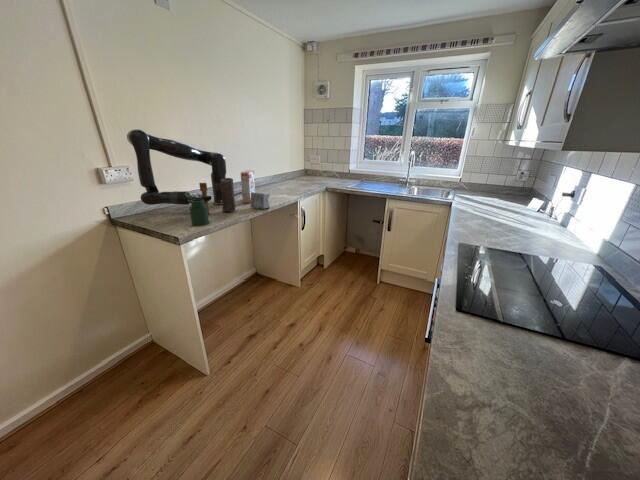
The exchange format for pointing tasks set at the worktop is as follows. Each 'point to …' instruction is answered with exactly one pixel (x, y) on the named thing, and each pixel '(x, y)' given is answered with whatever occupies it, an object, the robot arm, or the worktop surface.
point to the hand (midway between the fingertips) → (210, 198)
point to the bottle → (198, 212)
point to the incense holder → (259, 200)
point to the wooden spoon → (204, 193)
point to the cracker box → (247, 185)
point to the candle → (227, 194)
